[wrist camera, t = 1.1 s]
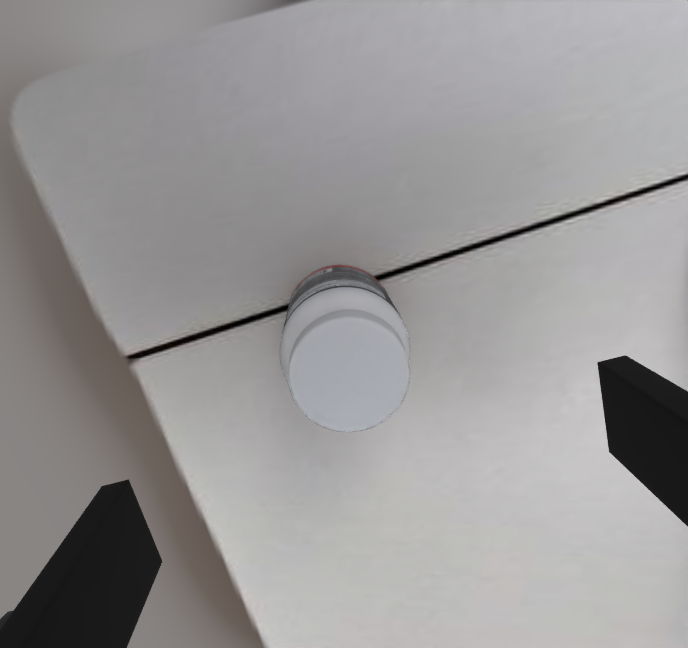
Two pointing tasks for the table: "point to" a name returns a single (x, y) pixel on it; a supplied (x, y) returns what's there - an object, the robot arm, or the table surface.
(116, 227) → the table surface
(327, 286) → the pill bottle
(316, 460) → the table surface
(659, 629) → the table surface
